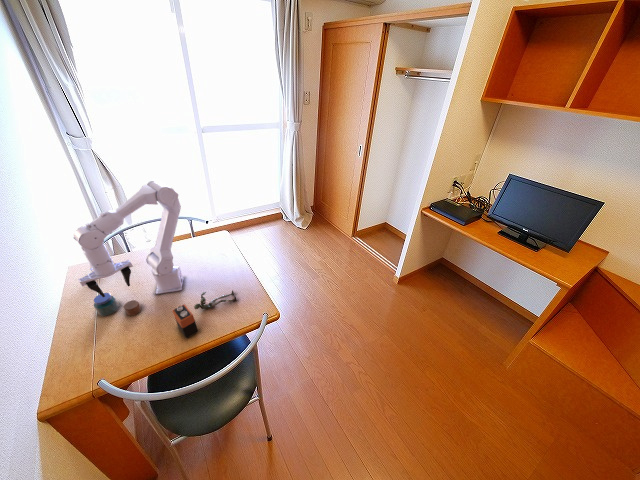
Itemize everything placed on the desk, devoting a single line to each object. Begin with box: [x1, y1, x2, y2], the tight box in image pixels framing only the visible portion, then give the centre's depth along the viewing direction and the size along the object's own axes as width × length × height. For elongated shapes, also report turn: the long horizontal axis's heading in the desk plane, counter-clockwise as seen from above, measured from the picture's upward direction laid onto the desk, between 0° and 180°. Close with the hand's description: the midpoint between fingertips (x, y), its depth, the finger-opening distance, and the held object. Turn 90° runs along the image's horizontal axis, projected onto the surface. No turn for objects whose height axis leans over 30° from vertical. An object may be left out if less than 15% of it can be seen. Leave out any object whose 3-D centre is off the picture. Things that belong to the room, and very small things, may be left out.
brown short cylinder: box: [123, 299, 142, 316], centre depth 98 cm, size 5×5×3 cm
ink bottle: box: [93, 292, 120, 317], centre depth 97 cm, size 6×6×6 cm
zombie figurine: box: [193, 290, 237, 310], centre depth 102 cm, size 5×7×15 cm
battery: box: [172, 303, 199, 339], centre depth 91 cm, size 4×7×10 cm, turn 46°
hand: (116, 290), depth 94 cm, fingers open, 7 cm apart
